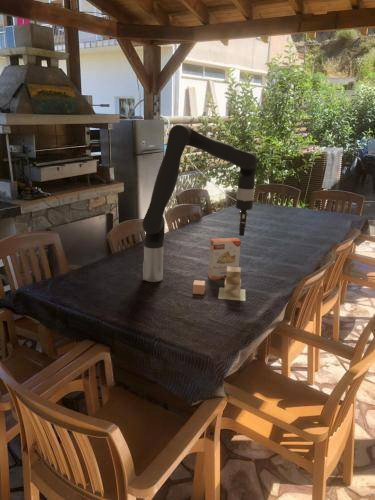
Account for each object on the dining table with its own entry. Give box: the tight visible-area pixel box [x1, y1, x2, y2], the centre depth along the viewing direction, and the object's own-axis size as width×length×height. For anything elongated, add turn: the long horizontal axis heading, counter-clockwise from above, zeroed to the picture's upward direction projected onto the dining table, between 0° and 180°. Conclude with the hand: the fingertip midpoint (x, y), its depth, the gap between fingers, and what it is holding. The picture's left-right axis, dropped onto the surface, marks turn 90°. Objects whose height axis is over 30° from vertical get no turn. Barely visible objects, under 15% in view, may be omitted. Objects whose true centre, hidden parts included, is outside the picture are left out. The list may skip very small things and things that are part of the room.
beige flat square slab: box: [217, 287, 246, 302], centre depth 187 cm, size 12×12×2 cm
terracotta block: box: [192, 279, 206, 295], centre depth 188 cm, size 5×5×6 cm
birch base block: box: [223, 278, 242, 298], centre depth 186 cm, size 7×7×6 cm
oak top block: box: [226, 266, 242, 285], centre depth 184 cm, size 6×6×6 cm
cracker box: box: [207, 237, 242, 281], centre depth 203 cm, size 14×6×21 cm, turn 105°
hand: (241, 232), depth 189 cm, fingers open, 8 cm apart
